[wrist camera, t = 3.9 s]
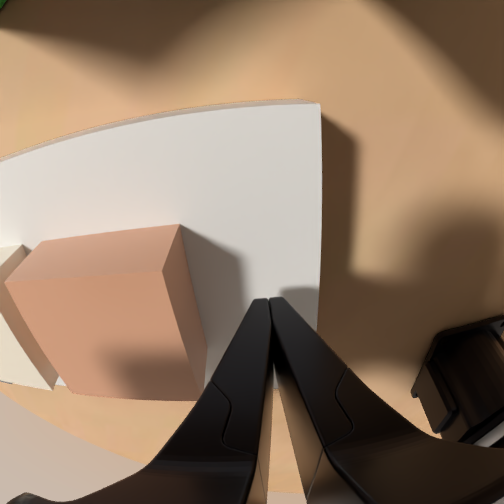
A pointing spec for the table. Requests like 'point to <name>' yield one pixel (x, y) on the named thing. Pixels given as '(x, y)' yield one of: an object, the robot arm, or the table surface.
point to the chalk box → (2, 3)
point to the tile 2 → (116, 313)
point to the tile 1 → (19, 335)
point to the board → (189, 200)
